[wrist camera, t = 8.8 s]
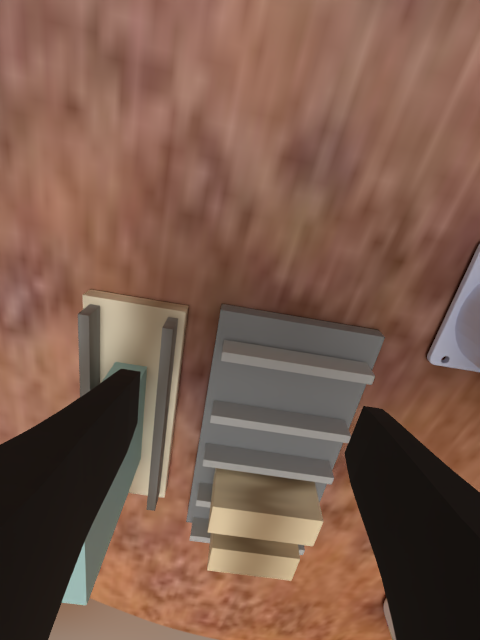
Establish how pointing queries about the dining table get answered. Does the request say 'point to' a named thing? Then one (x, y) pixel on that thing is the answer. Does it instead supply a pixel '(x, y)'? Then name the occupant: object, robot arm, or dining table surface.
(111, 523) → the teal rectangular block
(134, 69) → the dining table surface
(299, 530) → the block
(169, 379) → the holder
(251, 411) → the rack
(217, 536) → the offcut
